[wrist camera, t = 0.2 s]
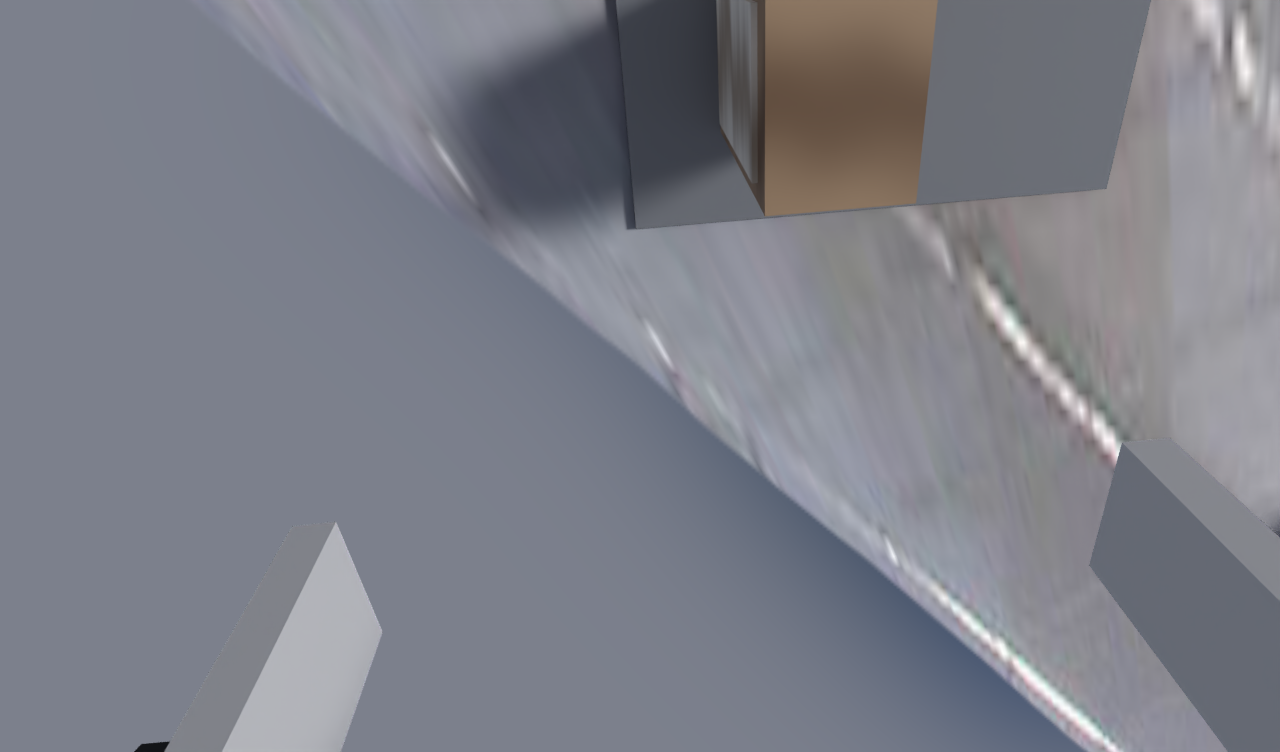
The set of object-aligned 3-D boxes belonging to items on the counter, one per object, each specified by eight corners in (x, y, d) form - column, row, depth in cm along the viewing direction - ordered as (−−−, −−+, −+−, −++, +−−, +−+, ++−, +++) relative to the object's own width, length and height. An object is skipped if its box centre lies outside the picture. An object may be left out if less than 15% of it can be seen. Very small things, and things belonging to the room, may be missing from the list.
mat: (603, -147, 31) (602, -148, 30) (1191, -205, 30) (1199, -207, 30) (635, 225, 39) (636, 229, 38) (1100, 186, 38) (1106, 188, 38)
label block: (711, -33, 32) (758, -22, 21) (831, -44, 32) (941, -38, 21) (716, 132, 36) (758, 216, 25) (824, 122, 36) (916, 203, 24)
